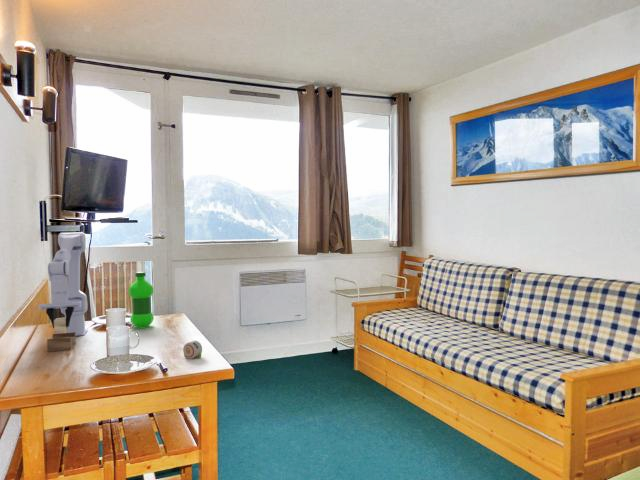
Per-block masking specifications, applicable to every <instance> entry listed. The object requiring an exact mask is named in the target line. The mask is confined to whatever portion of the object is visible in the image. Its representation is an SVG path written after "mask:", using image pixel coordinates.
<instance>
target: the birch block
mask: <svg viewBox="0 0 640 480" xmlns="http://www.w3.org/2000/svg"><path fill="white" fill-rule="evenodd" d="M53 329H54V330H53V332H54V333H53V334H57V333H66V332H67V331H68V327H66V318H65V317H56V319H55V320H54V328H53Z"/></svg>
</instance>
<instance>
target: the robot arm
mask: <svg viewBox="0 0 640 480" xmlns="http://www.w3.org/2000/svg"><path fill="white" fill-rule="evenodd" d="M57 243H58V246H59V250H57V251H56V253H55V255H54V258H53V260H52V261H51V262H49V263H48V265H47V274H48V280H49V281H50V292H51V293H50V294H51V298H50V299H51V302H50V303H41V304H39V305H38V311H42V310H45V314H47V316H48V318H49V321H50V322H51V326H52V329H54V320H55V319H56V318H57V317H56V311H57V310H58V309H60V312H61V313H62V315H64V318H66V327H68V331H67V332H65V333H70V332H75V336H76V337H77V336H78V337H79V336H85V334H86V333H87V332H88V329H86V324H85V323H86V322H85V321H86V320H85V313H86V312H87V311H88V308H89V307H88V306H89V305H88V304H89V303H88V296H87V294H86V293H85V292H83V291H81V256H82V253H84V252H85V251H86V246H87V245H86V234H85V233H84V231H81V232H80V231H79V232H60V233H58V235H57ZM56 309H57V310H56Z"/></svg>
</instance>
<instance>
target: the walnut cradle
mask: <svg viewBox="0 0 640 480" xmlns="http://www.w3.org/2000/svg"><path fill="white" fill-rule="evenodd" d="M76 337H77V336H75V332H70V333H66V332H63V333H52V338H47V339H46V347H47V348H46V349H47V352H57V351H70V350H72V349H73V348H74V346H75V345H76V343H77V342H76Z"/></svg>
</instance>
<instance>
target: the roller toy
mask: <svg viewBox="0 0 640 480" xmlns="http://www.w3.org/2000/svg"><path fill="white" fill-rule="evenodd" d="M182 351H183V357H184V358H186V359H188V360H189V359H191V360H192V359H195V358H196V359H197V358H198V359H199V358H201V357H202V352H203V346H202V344H201V342H199V341H198V340H192V341H189V342H187V343H185V344H184V345H183V348H182Z"/></svg>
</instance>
